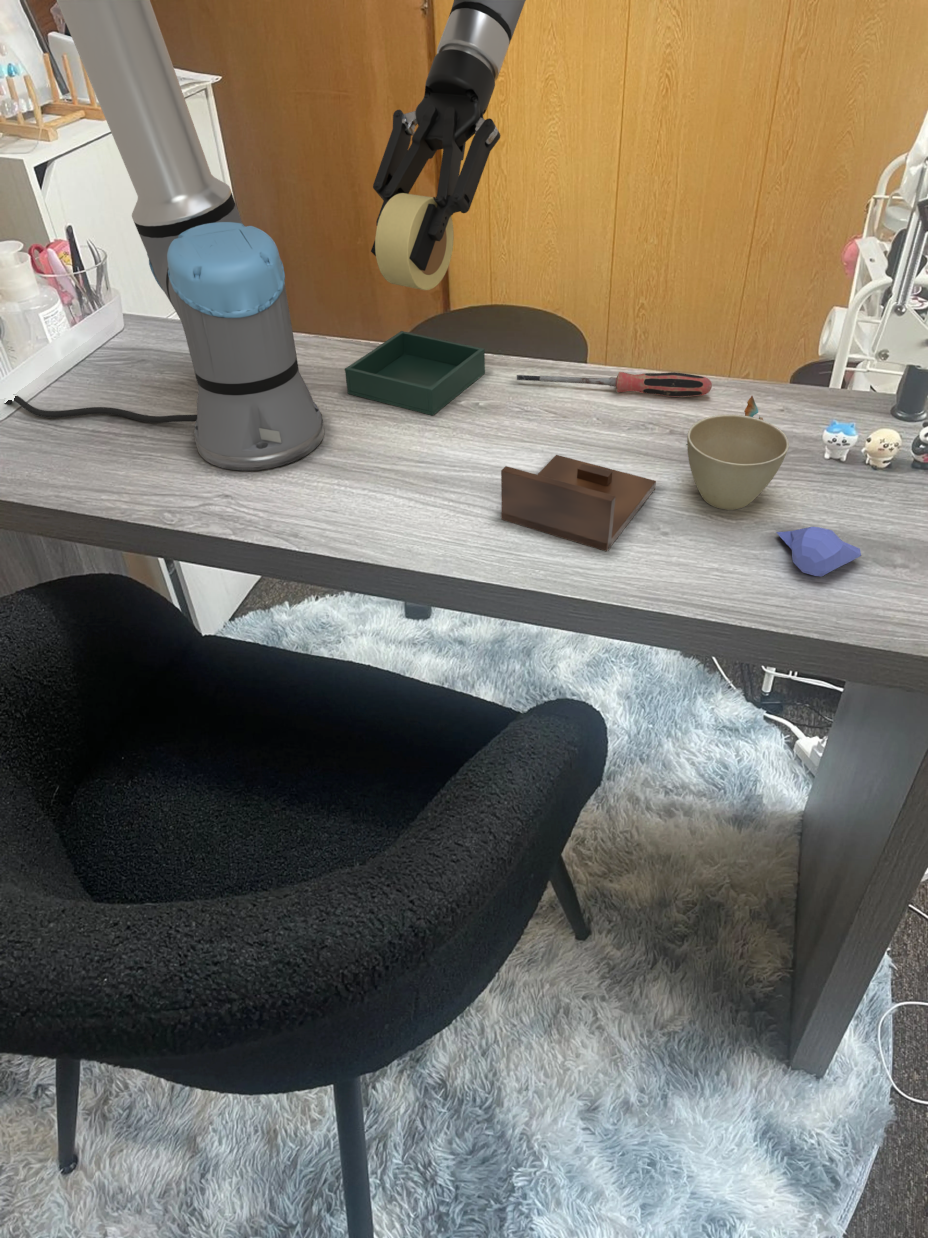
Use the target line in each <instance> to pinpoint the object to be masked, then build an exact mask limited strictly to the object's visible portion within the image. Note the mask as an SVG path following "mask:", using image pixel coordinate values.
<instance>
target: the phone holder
mask: <svg viewBox="0 0 928 1238" xmlns="http://www.w3.org/2000/svg"><path fill="white" fill-rule="evenodd" d="M500 483H501V484H500V487H501V489H500V490H501V491H500V493H501V494H500V495H501V497H500V498H501V500H500V501H501V504H500V505H501V513H500V514H501V516H500V517H501V520H502V521H505V522H509V523H512V524H515V525H519V526H522V527H525V528H529V529H531V530H534V531H538V532H542V533H544V534H547V535H551V536H555V537H558V538H561V539H565V540H568V541H571V542H574V543H578V544H581V545H585V546H588V547H591V548H594V549H597V550H601V551H605V552H608V551H609V550H610V548H611V547H612V545H613V544H614V543H615V542H616V540H617V539H618V538H619V536H620V535H621V534H622V533H623V531H624V530H625V529H626V527H627V526H628V525H629V524H630V522H631V521H632V520H633V518H634V517H635V515H637V513H638V512H639V510H641V508H642V507H643V505H644V504H645V502H646V501H647V500H648V499H649V497H650V496H651V495H652V493H653V492H654V491H655V490H656V487H657V485H656V484H657V480H654V479H651V478H647V477H643V476H639V475H635V474H632V473H629V472H624V471H620V470H618V469H617V470H616V469H612V468H609V467H604V466H601V465H597V464H593V463H589V462H585V461H582V460H578V459H574V458H570V457H567V456H563V455H559V454H555V455H554V457H553V458H551V460H549V462H547V464H545V466H544V467H542V469H541V470H540V471H539V472H538V473H537V474H536V473H532V472H530V471H526V470H522V469H518V468H514V467H511V466H507V465H505V466H504V467H503V468H502V469H501V470H500Z"/></svg>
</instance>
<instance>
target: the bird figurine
mask: <svg viewBox="0 0 928 1238" xmlns="http://www.w3.org/2000/svg"><path fill="white" fill-rule="evenodd" d="M775 533H776V534H777V535H778V536H779V537H780V538H781V539H782V541H783V542H784V543H785V544H786V545H787V546H788V548H790V550H791V558H792V559H791V560H792V563H793V564H794V565H795V566H796V567H797V568H798V569H799V570H800V572H802V573H804V574H807V575H811V576H814V577H823V576H825V575H827V574H829V573H830V572H833V571H835V570H836V569H839V568H841V567H843V566H845V565H847V564H849V563H851V562H853V561H854V560H856V559H858V558H860V557H861V556H862V552H861V548H860V547H858V546H855V545H853V544H850V543H848V542H846V541H843V540H842V539H841V538H840V537H839V536H838V534H836V533H835V531H834V530H832V529H829V528H824V527H819V526H807V527H803V528H798V529H794V530H788V531H787V530H785V531H776V532H775Z"/></svg>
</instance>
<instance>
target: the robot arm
mask: <svg viewBox="0 0 928 1238" xmlns="http://www.w3.org/2000/svg"><path fill="white" fill-rule="evenodd" d="M526 1H527V0H453V2H452V5H451V6H452V7H451V8H450V11H449V15H448V18H447V21H446V23H445V26H444V29H443V31H442V34H441V37H440V39H439V42H438V45H437V48H436V54H435V56H434V58H433V61H432V64H431V66H430V69H429V72H428V74H427V77H426V80H425V85H424V87H425V88H424V95H423V98H422V100H420V102H419V103H418V104H417V106H416V108H415V110H413V111H409V112H406V113H404V112H403V111H402V110H401V109H396V110H395V111H394V112H393V115H392V130H391V132H390V135H389V137H388V141H387V145H386V147H385V150H384V152H383V156H382V158H381V161H380V164H379V167H378V169H377V173H376V174H375V175H376V176H375V179H374V182H373V183H372V184H373V185H372V188H373V190H374V191H375V192H376V193H377V195H378V196H379V198H381V199H382V200H383V201H382V204H381V207H380V210H379V213H378V216H377V219H376V223H375V224H376V227H377V225H378V221H379V218H380V215H381V213H382V210H383V209H384V207H385V205H386V204H387V202H388V201H389V200H390V199H391V198H392V197H393V196H395V195H397V194H399V193H406V194H410V192H411V190H412V189H413V187H414V184H415V183H416V181H417V180H418V178H419V176H420V175H421V173H422V171H423V169H424V168H425V166H426V165H427V163H428V161H429V160H432V159H433V158H434V157H435V154H436V153H437V151H439V150H442V155H441V161H440V162H441V163H440V171H439V178H438V185H437V192H436V196H432V197H433V199H434V201H435V202H436V203H437V207H436V206H435V205H434V204H428V207H427V209H426V212H425V215H424V218H423V221H422V224H421V226H420V229H419V232H418V235H417V238H416V241H415V243H414V246H413V249H412V252H411V255H410V257H409V259H410V260H411V261H412V262H413V263H414V264H415V265H416V266H417V267H418V269H419V270H423V271H425V270H426V267H427V264H428V261H429V258H430V255H431V253H432V250H433V247H434V244H435V241H440V240H441V239H442V238H443V235H444V232H445V229H446V227H447V224H448V221H449V218H450V216H451V217H452V216H453V215H454V214H456V213H461V214H466V213H468V212H469V211H470V209H471V206H472V203H473V200H474V199H475V196H476V192H477V189H478V187H479V184H480V181H481V178H482V175H483V173H484V170H485V167H486V164H487V162H488V159H489V157H490V154H491V151H492V150H493V148H495V145H497V143H498V142H499V140H500V139H501V133H500V131H499V129H498V127H497V126H496V124H495V122H494V121H493V119H492V118H486V119H484V115H485V114H486V112H487V110H488V107H489V104H490V102H491V98H492V96H493V93H494V91H495V87H496V81H497V80H498V78H499V76H500V73H501V70H502V68H503V64H504V61H505V59H506V56H507V53H508V50H509V47H510V44H511V41H512V39H513V36H514V34H515V31H516V28H517V25H518V22H519V19H520V17H521V14H522V11H523V9H524V6H525V4H526ZM56 4H57V5H58V8H59V10H60V12H61V14H62V15H61V16H62V17H63V20H64V22H65V24H66V27H67V29H68V32H69V34H70V36H71V38H72V41H73V43H74V46H75V49H76V51H77V54H78V56H79V59H80V60H81V63H82V66H83V68H84V70H85V72H86V75H87V78H88V81H89V82H90V84H91V87H92V89H93V92H94V94H95V97H96V99H97V101H98V104H99V107H100V109H101V111H102V114H103V116H104V118H105V121H106V123H107V125H108V128H109V130H110V133H111V136H112V138H113V140H114V143H115V144H116V148H117V150H118V152H119V154H120V155H119V156H120V157H121V159H122V162H123V164H124V166H125V169H126V171H127V174H128V176H129V179H130V182H131V183H132V186H133V188H134V191H135V193H136V195H137V200H136V202H135V205H134V207H133V210H132V212H131V219H132V221H133V223H134V226H135V228H136V231H137V233H138V235H139V238H140V239H141V242H142V245H143V247H144V249H145V251H146V255H147V258H148V265H149V268H150V271H151V274H152V275H153V277H154V279H155V282H156V283H157V284H158V287H159V288H160V289H161V291H163V293H164V294H165V296H166V298H167V299H168V301H169V302H170V304H171V306H172V307H173V309H174V311H175V313H176V315H177V316H178V318H179V320H180V322H181V325H182V328H183V332H184V337H185V340H186V345H187V348H188V352H189V356H190V359H191V364H192V368H193V371H194V375H195V379H196V383H197V397H196V398H197V399H196V414H171V415H170V414H169V415H149V414H148V415H147V414H142V413H137V412H133V411H130V410H126V409H121V408H117V407H116V408H115V407H108V406H94V407H93V406H91V407H80V408H73V409H72V408H71V409H63V410H44V409H39V408H36V407H34V406H33V405H31V404H29V403H28V402H27V401H25V400H24V399H23V398H22V397H20V396H19V395H17V396H15V398H14V401H12V400H8V401H7V402H6V403H4V402H3V404H4V405H8V406H9V405H12V403H13V402H15V403H16V404H18V405H19V406H20V407H22V408H23V409H24V410H26V412H28V413H30V414H32V415H34V416H37V417H40V418H49V419H50V418H55V419H56V418H57V419H58V418H69V417H77V416H85V415H111V416H118V417H123V418H127V419H131V420H135V421H138V422H143V423H151V424H163V423H164V424H165V423H183V422H185V423H186V422H189V423H190V422H191V423H194V428H193V429H194V430H193V431H194V432H193V436H194V440H195V444H196V448H197V451H198V454H199V456H200V457H201V458H202V459H203V460H204V461H206V462H207V463H209V464H211V465H213V466H215V467H219V468H222V469H226V470H231V471H261V470H267V469H274V468H278V467H282V466H285V465H288V464H291V463H294V462H297V461H298V460H300V459H302V458H304V457H305V456H307V455H308V454H310V453H312V452H313V451H314V450H315V449H316V448H317V447H318V446H319V445H320V444H321V443H322V441H323V439H324V435H325V426H324V421H323V414H322V412H321V410H320V408H319V406H318V405H317V404H316V402H315V401H314V400H313V397H312V394H311V392H310V389H309V388H308V385H307V384H306V382H305V380H304V378H303V376H302V375H301V372H300V368H299V363H298V357H297V349H296V344H295V338H294V332H293V324H292V319H291V313H290V307H289V306H290V305H289V299H288V294H287V289H286V282H285V280H286V274H285V273H286V272H285V267H284V264H283V261H282V258H281V257H280V252H279V248H278V246H277V244H276V243H275V240H274V239H273V238H272V237H271V236H270V235H269V234H268V233H267V232H265V231H263V230H262V229H260V228H258V227H256V226H253V225H247V226H245V225H244V224H243V221H242V218H241V215H240V212H239V210H238V206H237V204H236V200H235V198H234V195H233V193H232V189H231V186H230V185H229V184H228V183H226V182H224V181H222V180H220V179H219V178H217V177H215V176H214V175H213V174H212V172H211V169H210V167H209V164H208V161H207V158H206V155H205V153H204V149H203V146H202V144H201V141H200V139H199V135H198V133H197V129H196V128H195V127H196V126H195V124H194V122H193V118H192V116H191V113H190V110H189V107H188V104H187V101H186V98H185V96H184V93H183V90H182V88H181V85H180V81H179V79H178V75H177V73H176V71H175V67H174V65H173V62H172V59H171V57H170V54H169V50H168V47H167V44H166V42H165V39H164V36H163V33H162V31H161V28H160V25H159V22H158V20H157V16H156V13H155V11H154V8H153V5H152V3H151V0H56ZM416 127H417V128H416ZM471 138H472V140H471V141H470V145H469V148H468V151H467V153H466V156H465V151H466V145H467V144H466V143H467V142H468V141H469V140H470V139H471ZM462 161H463V164H462ZM461 165H462V167H461ZM370 252H371V254H372V255H373V256H375V257H376V253H375V240H374V241H373V244H372V246H371V250H370Z"/></svg>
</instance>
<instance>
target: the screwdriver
mask: <svg viewBox="0 0 928 1238" xmlns="http://www.w3.org/2000/svg"><path fill="white" fill-rule="evenodd" d="M516 381H530V382H531V381H532V382H533V381H534V382H540V383H541V382H543V383H561V384H562V383H564V384H565V383H566V384H583V385H586V384H587V385H597V386H609V387H615V389H616V393H626V392H636V393H637V392H638V393H641V394H646V395H655V396H663V397H669V398H687V397H688V398H689V397H699V396H706V395H707V394H709V393H710V392H711V391H712V387H713V382H712V381H711V379H710V378H708V377H706V376H702V375H696V374H689V373H684V372H675V371H674V372H673V371H671V372H670V371H669V372H645V373H640V374H632V373H627V372H624V371H618V373H617V376H616V377H614V376H611V377H583V376H582V377H581V376H559V375H527V374H525V375H524V374H516Z"/></svg>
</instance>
